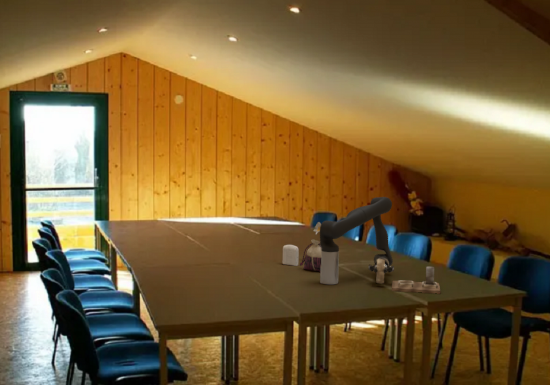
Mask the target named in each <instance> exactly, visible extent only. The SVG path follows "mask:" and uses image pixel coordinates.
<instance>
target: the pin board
mask: <svg viewBox="0 0 550 385" xmlns="http://www.w3.org/2000/svg"><path fill="white" fill-rule="evenodd" d="M425 269H426V270H425V281H422V282H421V281H413V280H404V279H403V280H400V279H399V280H392V283H391V292H405V293H418V292H422V293H421V294H423V293H424V294H435V293H437V294H439V295H440V294H441V287H440V283H439V282H437V281H435V267H434V266H425Z"/></svg>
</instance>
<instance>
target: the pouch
mask: <svg viewBox="0 0 550 385" xmlns="http://www.w3.org/2000/svg"><path fill="white" fill-rule="evenodd" d="M310 241H311V243H310V244H308V245H307V247H306V248H305V249H304V251H303V255H302V260H301V262H300V263H299V264H298V266H300V267H302V266H303V270H307V271H314V272H319V273H320V269H321V251H322V249H321V245H320V240H316V239H315V238H313V239H311V240H310Z"/></svg>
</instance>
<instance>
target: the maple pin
mask: <svg viewBox="0 0 550 385" xmlns="http://www.w3.org/2000/svg"><path fill="white" fill-rule="evenodd" d="M384 268H385V260H384V259H377V273H376V276H375V277H376V281H375V282H376V283H377V284H384V283H385V273H384Z"/></svg>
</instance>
